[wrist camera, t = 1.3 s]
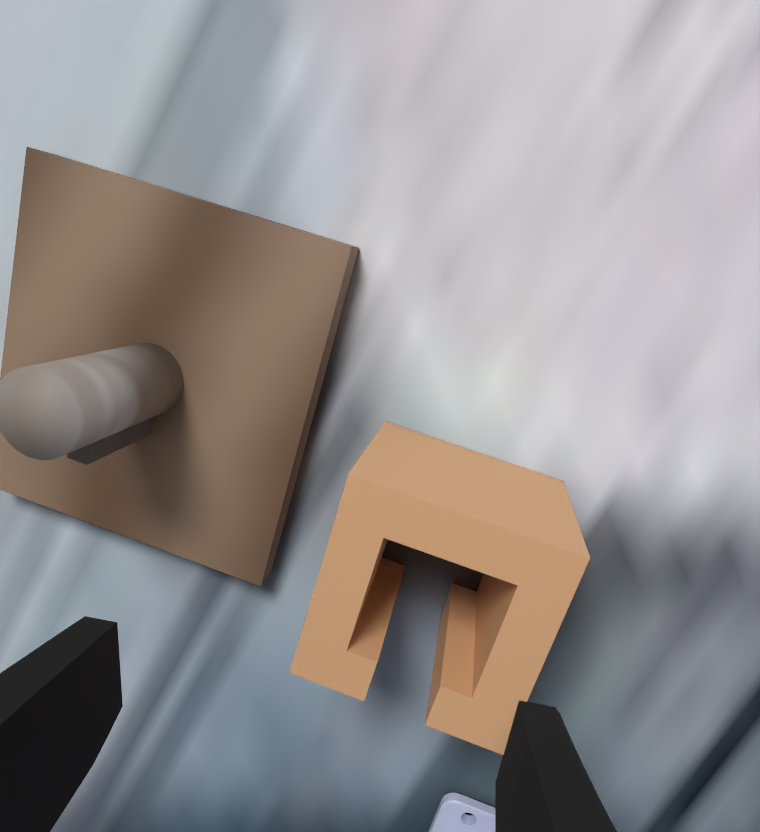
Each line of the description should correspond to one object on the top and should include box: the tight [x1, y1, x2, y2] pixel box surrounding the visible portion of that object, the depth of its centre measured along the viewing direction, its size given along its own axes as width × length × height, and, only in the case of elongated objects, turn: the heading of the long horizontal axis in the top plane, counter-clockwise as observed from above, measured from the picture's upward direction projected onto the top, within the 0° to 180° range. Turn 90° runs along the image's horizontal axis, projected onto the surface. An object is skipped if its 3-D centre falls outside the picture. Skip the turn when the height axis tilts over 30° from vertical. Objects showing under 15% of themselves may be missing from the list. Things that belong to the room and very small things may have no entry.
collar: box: [289, 422, 590, 755], centre depth 16 cm, size 6×6×5 cm
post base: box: [0, 147, 359, 586], centre depth 16 cm, size 10×11×6 cm
